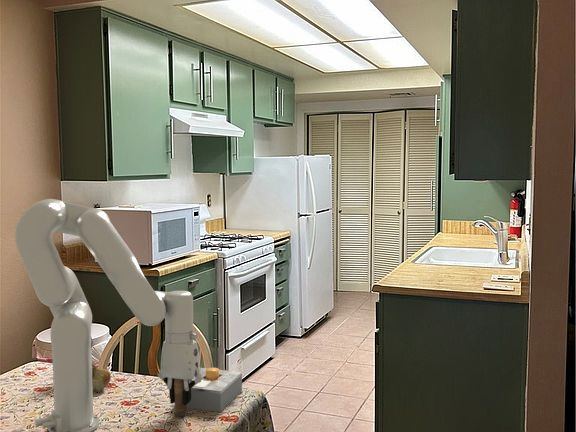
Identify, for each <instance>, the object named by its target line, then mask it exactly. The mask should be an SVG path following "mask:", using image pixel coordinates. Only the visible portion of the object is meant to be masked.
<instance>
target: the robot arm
mask: <svg viewBox="0 0 576 432" xmlns="http://www.w3.org/2000/svg"><path fill="white" fill-rule="evenodd" d="M54 233H61V234H66V235H71V236H75V237H79V238H80V240H81V241H82V242H83V244H84V246H85V248H87V249H88V251H89V252H90V253H91V255H92V256H93V258H94V259H95V260H96V262H97V263H98V265H99V266H100V268H101V269H102V270H103V272H104V273H105V275H106V276H107V278H108V279H109V281H110V282H111V284H112V285H113V286H114V287H115V289H116V290H117V292H118V294H119V295H120V297H121V298H122V300H123V301H124V303H125V304H126V306H127V307H128V308H129V309H130V311H131V312H132V314H133V315H134V316H135V318H136V320H138V321H139V322H140V323H141V324H143V325H145V326H148V327H153V326H154V327H155V326H157V325H159V324H161V323H162V321H163V320H164V326H165V327H164V329H165V334H164V336H165V340H164V341H163V342H162V348H161V354H160V369H159V371H158V374H157V377H158V379H160V380H162V382H164V384H165V385H166V386H167V389H168V390H169V393H168V394H169V395H168V398H169V399H170V400H169V401H170V402H169V404H172V405H173V404H175V403H174V379H182V380H184V388H185V390H184V391H183V405H187V404H188V403H189V402H190V401H191V388H192V387H193V386H194V385H195V384H197V383H200V382H201V381H202V380H203V378H202V376H201V374H200V368H201V361H200V360H201V359H200V352H199V347H198V342H197V339H198V335H199V334H197V333H196V332H195V330H194V296H193V294H192V293H191V292H190V291H188V290H172V291H160V290H154V289H153V287H152V285H151V284H150V283H149V281H148V279H147V277H146V276H145V275H144V273H143V271H142V269H141V267H140V264H139V261H138V260H137V258H136V256H135V254H134V253H133V251H131V249H130V247H129V246H128V244H127V243H126V242H125V241H124V239H123V238H122V236H121V235H120V233H119V232H118V231H117V229H116V228H115V226H114V225H113V223H112V222H111V219H110V217H109V215H108V214H107V213H106V212H105V211H103V210H102V209H99V208H97V207H92V206H91V207H90V206H86V205H85V206H84V205H81V204H76V203H72V202H67V201H64V200H60V199H55V198H46V199H42V200H39V201H37V202H35V203H33V204H32V205H31V206H30V207H29V208H27V209H26V211H25V212H23V214H22V216H21V217H20V218H19V220H18V222H17V224H16V227H15V233H14V234H15V235H14V239H15V245H16V248H17V251H18V254H19V256H20V259H21V261H22V263H23V265H24V268H25V271H26V273H27V275H28V278H29V280H30V282H31V284H32V286H33V289H34V292H35V294H36V296H37V298H38V300H39V301H40V303H42V304H43V305H45V306H47V307H49V309H50V312H51V313H52V314H51V315H52V316H53V319H52V321H51V325H50V343H51V344H50V345H51V356H52V357H51V358H52V378H53V379H52V380H53V410H51V411H50V412H51V413H50V414H49V415H47V416H46V417H41V418H40V417H39V418H36V419H34V427H35V428H38V427H41V428H42V429H47V428H48V432H94V430H96V429H97V428H98V427H99V426H100V424H101V421H100V420H101V419H100V417H99V416H98V415H96V414H94V398H93V397H94V395H93V394H94V393H93V392H94V391H93V386H92V365H93V359H92V349H91V337H92V323H93V313H92V310H91V307H90V304H89V302H88V300H87V298H86V296H85V293H84V291H83V288H82V287H81V286H82V285H81V284H80V282H79V280H78V277H77V275H76V274H75V272H74V271H73V270H72V269H70V268H69V267H68V266H65V265H64V264H63V261H62V259H61V257H60V254H59V253H60V252H58V250H57V248H56V245H55V243H54V240H53V235H54ZM194 376H195V378H196V379H194V380H193V381H192V379H193V378H194Z"/></svg>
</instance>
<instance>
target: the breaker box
mask: <svg viewBox="0 0 576 432" xmlns="http://www.w3.org/2000/svg"><path fill="white" fill-rule="evenodd" d="M206 369H208V368H207V367H200V374H201V376H202V378H203V380H202V381H201V382H200V383H197V384H195V385H194V386H193V387H192V388H191V401H190V402H189V403H188V404H187V405H186V409H194V410H195V409H196V410H202V411H209V412H216V413H221V412H222V411H223V410H225V409H226V407H228V406H229V405H230V404H231V403H232V401H234V400H235V399H236V398H237V397H238V395H240V394H241V393H242V392H243V372H242V371H233V370H226V369H225V370H224V369H219V378H218V379H217V380H213V379H206ZM194 379H196V378H195V376H194V378H193V379H192V381H193V380H194Z"/></svg>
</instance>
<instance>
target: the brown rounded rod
mask: <svg viewBox="0 0 576 432" xmlns="http://www.w3.org/2000/svg"><path fill="white" fill-rule="evenodd" d="M184 390H185V388H184V380H182V379H174V403H173V404H174V417H175V418H180V419H181V418H184V417H186V416H187V413H188V412H187V408H186V405H183V391H184Z"/></svg>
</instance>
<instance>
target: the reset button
mask: <svg viewBox="0 0 576 432" xmlns="http://www.w3.org/2000/svg"><path fill="white" fill-rule="evenodd" d="M219 370H220V369H219V368H218V367H208V368H207V369H206V379H213V380H217V379H218V378H219Z"/></svg>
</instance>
